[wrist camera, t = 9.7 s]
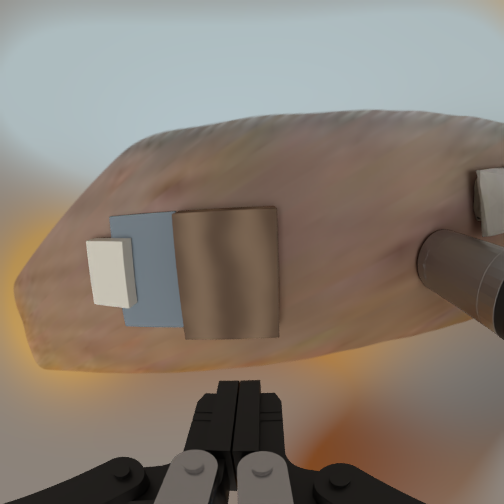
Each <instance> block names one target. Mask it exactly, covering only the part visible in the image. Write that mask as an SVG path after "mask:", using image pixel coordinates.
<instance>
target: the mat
mask: <svg viewBox="0 0 504 504" xmlns="http://www.w3.org/2000/svg"><path fill="white" fill-rule="evenodd" d="M175 212H176V211H172V212H158V213H146V214H134V215H122V216H112V217H109V218H110V228H111V237H112V238H131V245H132V257H133V268H134V278H135V287H136V295H137V303H136V304H134V305H133V306H132V307H131V308H122V309H123V315H124V319H125V324H126V326H138V327H184V325H183V318H182V311H181V303H180V295H179V287H178V278H177V269H176V259H175V249H174V238H173V226H172V214H173V213H175Z"/></svg>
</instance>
